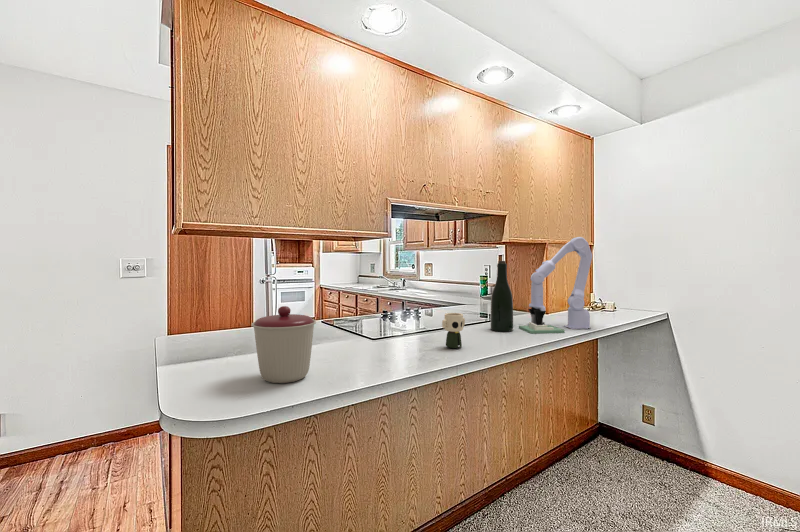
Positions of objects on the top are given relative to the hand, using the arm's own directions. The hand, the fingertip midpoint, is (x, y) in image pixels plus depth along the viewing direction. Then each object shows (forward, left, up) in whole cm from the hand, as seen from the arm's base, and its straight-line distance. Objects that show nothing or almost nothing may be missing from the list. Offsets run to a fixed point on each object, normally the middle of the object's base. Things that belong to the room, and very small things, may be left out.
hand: (536, 323), depth 204 cm
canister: (+110, +74, -2) cm, 133 cm away
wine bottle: (+21, +8, -2) cm, 23 cm away
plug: (0, 0, -1) cm, 1 cm away
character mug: (+52, +41, -2) cm, 66 cm away
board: (+3, +11, -1) cm, 11 cm away
